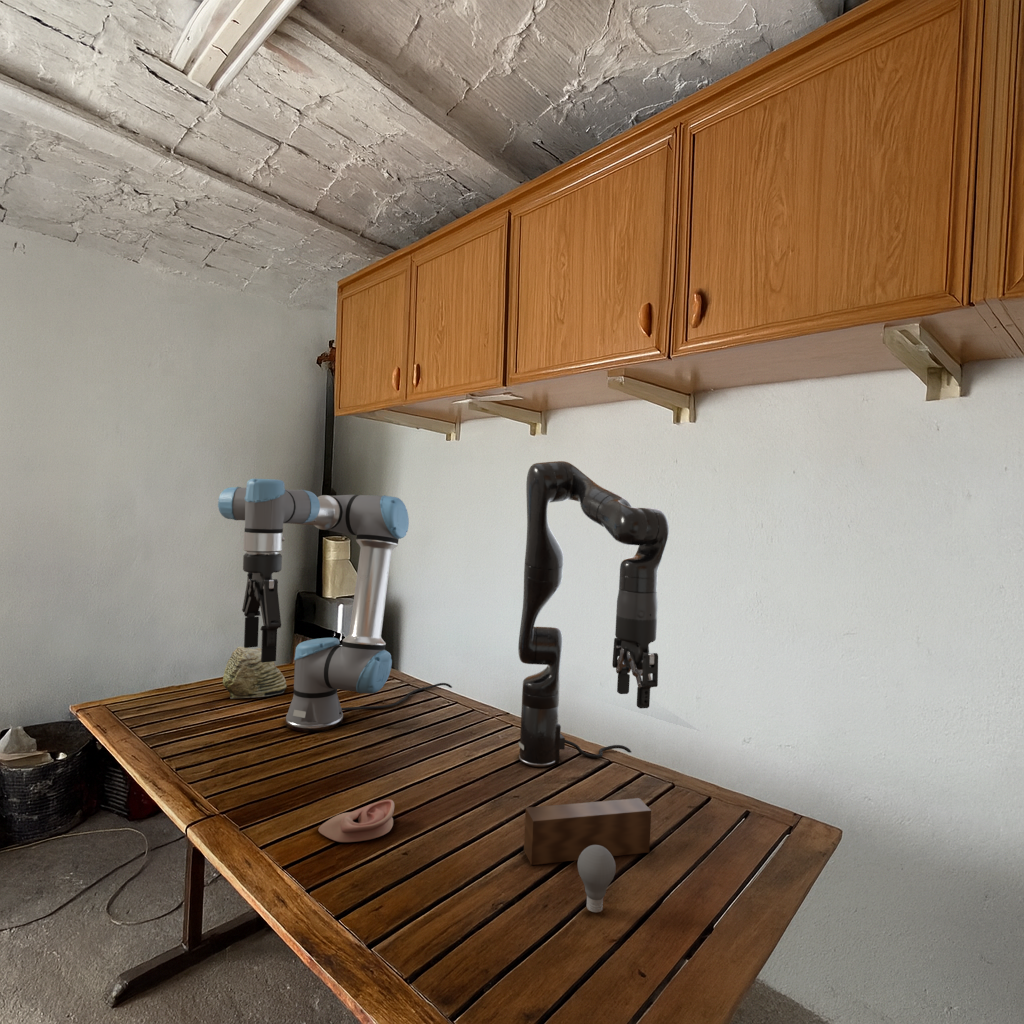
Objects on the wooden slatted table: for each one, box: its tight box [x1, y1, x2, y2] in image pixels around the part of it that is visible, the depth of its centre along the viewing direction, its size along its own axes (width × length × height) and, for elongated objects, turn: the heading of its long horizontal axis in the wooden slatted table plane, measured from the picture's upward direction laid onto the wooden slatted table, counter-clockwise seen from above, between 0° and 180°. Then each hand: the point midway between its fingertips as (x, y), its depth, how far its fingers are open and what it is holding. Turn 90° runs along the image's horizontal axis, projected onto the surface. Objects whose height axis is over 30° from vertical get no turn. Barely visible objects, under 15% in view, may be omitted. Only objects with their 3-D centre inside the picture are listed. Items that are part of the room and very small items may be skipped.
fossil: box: [222, 646, 288, 699], centre depth 198 cm, size 9×18×15 cm, turn 132°
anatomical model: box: [317, 799, 395, 843], centre depth 122 cm, size 13×4×12 cm
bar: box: [523, 797, 652, 866], centre depth 117 cm, size 23×5×8 cm, turn 105°
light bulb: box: [577, 845, 617, 913], centre depth 100 cm, size 6×6×10 cm
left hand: (259, 654), depth 132 cm, fingers open, 13 cm apart
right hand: (632, 700), depth 119 cm, fingers open, 8 cm apart
